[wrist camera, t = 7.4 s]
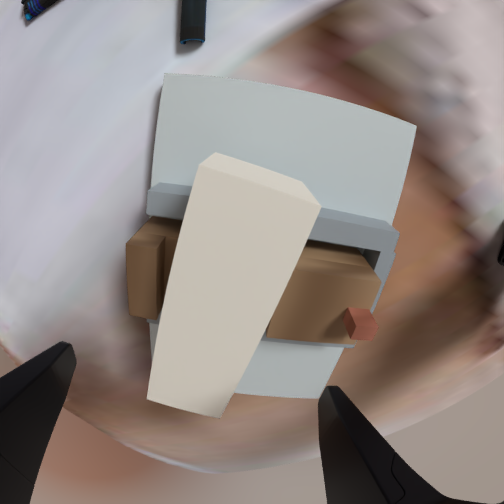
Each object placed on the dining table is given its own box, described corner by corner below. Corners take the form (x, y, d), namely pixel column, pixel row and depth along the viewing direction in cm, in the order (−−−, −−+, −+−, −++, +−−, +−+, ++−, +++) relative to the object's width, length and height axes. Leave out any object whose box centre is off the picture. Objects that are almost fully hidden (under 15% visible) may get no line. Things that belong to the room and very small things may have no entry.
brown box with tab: (357, 248, 17) (393, 299, 12) (338, 303, 18) (361, 363, 13) (152, 216, 16) (112, 258, 11) (151, 277, 18) (119, 333, 13)
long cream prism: (302, 181, 13) (321, 206, 9) (224, 367, 17) (219, 418, 14) (215, 152, 12) (199, 164, 9) (162, 349, 17) (146, 398, 13)
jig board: (407, 125, 15) (435, 128, 12) (316, 388, 24) (321, 416, 21) (170, 76, 14) (152, 67, 11) (156, 369, 23) (147, 397, 20)
